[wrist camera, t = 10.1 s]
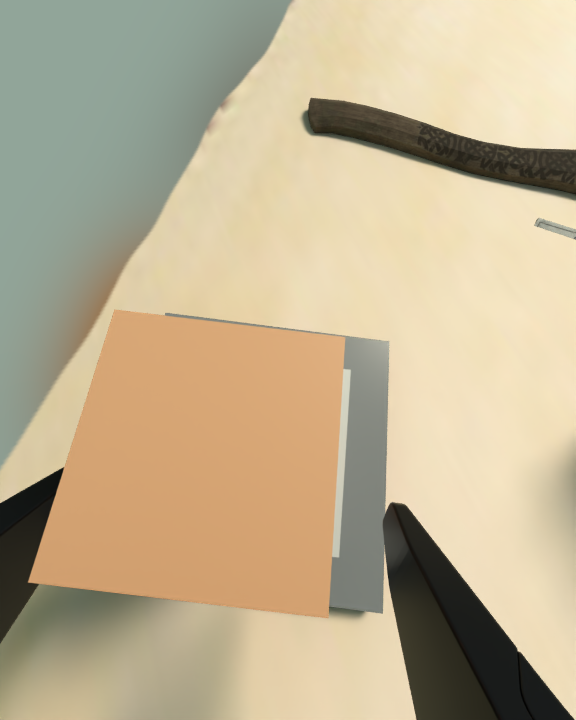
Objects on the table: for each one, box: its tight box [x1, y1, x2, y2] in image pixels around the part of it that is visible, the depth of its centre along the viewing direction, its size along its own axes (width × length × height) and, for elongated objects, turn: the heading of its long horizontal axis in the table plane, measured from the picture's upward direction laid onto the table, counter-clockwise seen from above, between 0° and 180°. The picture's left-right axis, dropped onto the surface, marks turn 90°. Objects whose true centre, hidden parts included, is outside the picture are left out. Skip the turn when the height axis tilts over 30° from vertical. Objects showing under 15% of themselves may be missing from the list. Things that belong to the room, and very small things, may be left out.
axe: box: [308, 98, 576, 239], centre depth 25 cm, size 11×2×30 cm
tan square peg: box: [28, 310, 345, 618], centre depth 11 cm, size 4×4×13 cm
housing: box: [165, 313, 389, 614], centre depth 16 cm, size 15×15×4 cm
